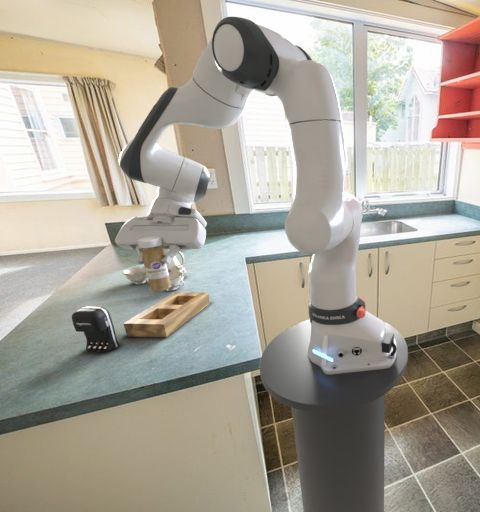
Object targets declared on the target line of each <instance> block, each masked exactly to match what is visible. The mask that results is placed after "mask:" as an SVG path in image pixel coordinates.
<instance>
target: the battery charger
mask: <svg viewBox="0 0 480 512" xmlns="http://www.w3.org/2000/svg"><path fill="white" fill-rule="evenodd" d="M71 321H72V325H73V328H74V330H75V332H78V333H83V334H84V336H85V339H86V344H85V345H86V346H85V348H86V349H85V350H86V351H87V352H93V353H94V352H95V353H107V352H110V351H112V350H114V349H116V348H118V347H119V346H120V343H119V340H118V337H117V334H116V330H115V326H114V323H113V320H112V316H111V314H110V311H109V310H108V309H107V308H106V307H103V306H85V307H81V308H80V309H78V310H76V311H74V312H73V313H72V315H71Z"/></svg>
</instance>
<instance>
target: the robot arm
mask: <svg viewBox="0 0 480 512" xmlns="http://www.w3.org/2000/svg"><path fill="white" fill-rule="evenodd" d="M255 91H256V92H258V93H262V94H264V95H266V96H269V97H273V98H278V99H279V100H280V102H281V105H282V108H283V111H284V118H285V119H284V120H285V124H286V128H287V135H288V142H289V149H290V153H291V159H292V169H293V170H292V171H293V174H292V175H293V176H292V178H293V181H292V185H293V186H292V194H291V195H292V197H291V205H290V210H289V212H288V213H287V216H286V219H285V221H284V232H285V235H286V238H287V240H288V242H289V243H290V245H291V246H292V247H293V248H294V249H295V250H297V251H298V252H300V253H303V254H307V255H312V256H311V260H310V263H309V265H308V269H307V279H308V291H309V300H308V305H307V306H308V309H307V310H308V318H309V319H310V323H311V337H310V344H309V348H308V357H309V359H310V360H311V361H312V362H313V363H314V364H316V365H318V366H320V367H321V369H322V370H323V372H324V373H325V374H327V375H332V374H341V373H350V372H360V371H369V370H378V369H387V368H390V367H391V366H392V365H393V363H394V362H395V359H396V355H397V346H396V341H395V338H394V333H392V332H387V330H386V327H385V324H384V322H385V321H384V320H382V319H380V318H379V317H377V316H375V315H374V314H373V313H371V312H370V311H367V310H366V299H365V296H363V297H362V298H361V297H359V296H358V295H357V293H358V292H357V291H358V289H357V264H358V263H357V262H358V254H359V249H360V248H359V246H360V239H361V226H362V221H363V219H364V218H363V217H364V209H363V206H362V204H361V202H360V200H358V198H357V197H355V196H354V195H352V194H350V193H347V192H345V191H344V189H345V175H346V169H347V166H348V156H347V150H346V139H345V133H344V124H343V118H342V112H341V106H340V101H339V96H338V93H337V89H336V86H335V83H334V79H333V76H332V74H331V72H330V71H329V69H328V68H327V67H326V66H325V65H324V64H323V63H320V62H318V61H315V60H313V58H312V57H311V56H310V55H309V53H307V52H306V50H305V49H303V48H302V47H301V46H299V45H297V44H294V43H293V42H292V41H289V39H287V38H285V37H284V36H282V35H281V34H279V33H278V32H277V31H274V30H272V29H270V28H268V27H265V26H262V25H259V24H257V23H255V22H254V21H252V20H251V19H249V18H244V17H240V16H226V17H224V18H222V19H221V20H220V21H218V23H217V24H216V26H215V28H214V30H213V33H212V37H211V39H210V40H209V41H208V43H207V44H206V46H205V47H204V49H203V51H202V52H201V55H200V56H199V58H198V60H197V62H196V65H195V67H194V70H193V72H192V75H191V77H190V79H189V80H188V81H187V82H186V83H185V84H184V85H182V86H179V87H173V86H170V87H169V88H167V89H166V90H165V91H163V93H162V94H161V95H160V97H159V98H158V99H157V101H156V102H155V104H154V105H153V106H152V108H151V109H150V111H149V112H148V114H147V116H146V117H145V119H144V120H143V122H142V124H140V125H141V126H140V127H139V129H138V130H137V132H136V134H135V136H134V137H133V138H132V139H131V140H130V141H129V142H128V143H127V144H126V145H125V146H124V147H123V148H122V151H121V152H120V154H119V159H118V163H119V164H118V166H119V167H120V169H121V170H122V172H123V173H124V174H125V176H126V177H127V178H128V179H130V180H131V181H132V180H133V181H136V182H140V183H143V184H149V185H151V186H154V187H157V190H156V193H157V195H156V197H155V198H154V199H153V200H152V201H151V205H150V207H149V211H148V212H147V215H146V216H133V217H132V218H130V219H127V220H126V221H125V222H124V223H123V225H122V226H121V228H120V230H119V231H118V233H117V234H116V237H115V238H114V243H115V244H116V246H118V247H119V248H121V249H123V250H124V251H135V252H136V255H137V257H136V259H135V261H136V263H137V264H139V265H144V262H143V257H142V253H141V249H140V247H139V245H138V240H139V239H141V238H145V237H160V238H161V240H162V249H170V251H169V252H168V253H167V254H166V255H162V257H161V258H162V259H161V262H162V263H163V264H170V263H171V261H172V258H173V257H175V256H176V257H177V255H178V254H179V251H180V250H200V249H202V248H203V247H204V245H205V242H206V239H207V238H206V237H207V229H206V227H207V225H208V222H207V221H206V220H205V218H204V216H202V215H201V213H200V212H199V211H198V210H196V209H195V208H192V205H193V204H194V203H196V202H198V201H200V200H202V199H204V198H205V196H206V194H207V190H208V185H209V183H210V181H211V175H210V171H209V170H208V168H207V167H206V166H205V165H204V164H201V163H200V162H197V161H195V160H193V159H191V158H188V157H186V156H183V155H180V154H178V153H176V152H173V151H170V150H168V149H166V148H164V147H162V146H160V145H159V144H158V142H159V141H160V139H161V138H162V136H163V135H164V134H165V132H166V131H167V130H168V128H169V127H171V126H173V125H184V126H185V125H186V126H193V127H200V128H204V129H209V130H222V129H226V128H230V127H233V126H234V125H235V124H236V123H238V121H239V120H240V118H241V117H242V115H243V113H244V111H245V109H246V108H247V105H248V103H249V101H250V98H251V96H252V94H253V93H254V92H255ZM180 252H181V251H180ZM383 321H384V322H383Z"/></svg>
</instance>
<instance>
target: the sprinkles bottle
mask: <svg viewBox="0 0 480 512" xmlns="http://www.w3.org/2000/svg"><path fill="white" fill-rule="evenodd" d="M138 245H139V247H140V249H141V253H142V257H143V262H144V264H143V265H144V266H143V267H145V270H146V274H147V280H148V283H149V290H150V292H163V291H167V289H169V288H170V287H171V283H170V279H169V273H168V269H167V265H166V264H163V263H162V262H161V259H162V258H161V257H162V255H164V253H163V249H162V240H161V238H160V237H145V238H141V239H139V240H138Z"/></svg>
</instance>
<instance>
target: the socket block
mask: <svg viewBox="0 0 480 512" xmlns="http://www.w3.org/2000/svg"><path fill="white" fill-rule="evenodd" d="M210 304H211V301H210V297H209V293H208V292H182V291H181V292H180V291H179V292H177V291H176V292H173V293H171V294H170V295H168V296H166V297H165V298H163V299H161V300H160V301H158V302H157V303H155V304H153V305H152V306H150V307H148V308H147V309H145V310H143V311H141V312H140V313H138V314H137V315H134V316H133V317H131V318H130V319H128V320H127V321H125V322H124V323H123V327H124V331H125V334H126V337H142V338H168V337H169V336H171V335H172V334H173V333H175V332H176V331H177V330H178V329H180V328H181V327H182V326H184V325H185V324H186V323H187V322H189V321H190V320H191V319H192V318H194V317H195V316H196V315H198V314H199V313H201V311H203V310H204V309H205V308H206V307H208V306H209V305H210Z"/></svg>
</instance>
